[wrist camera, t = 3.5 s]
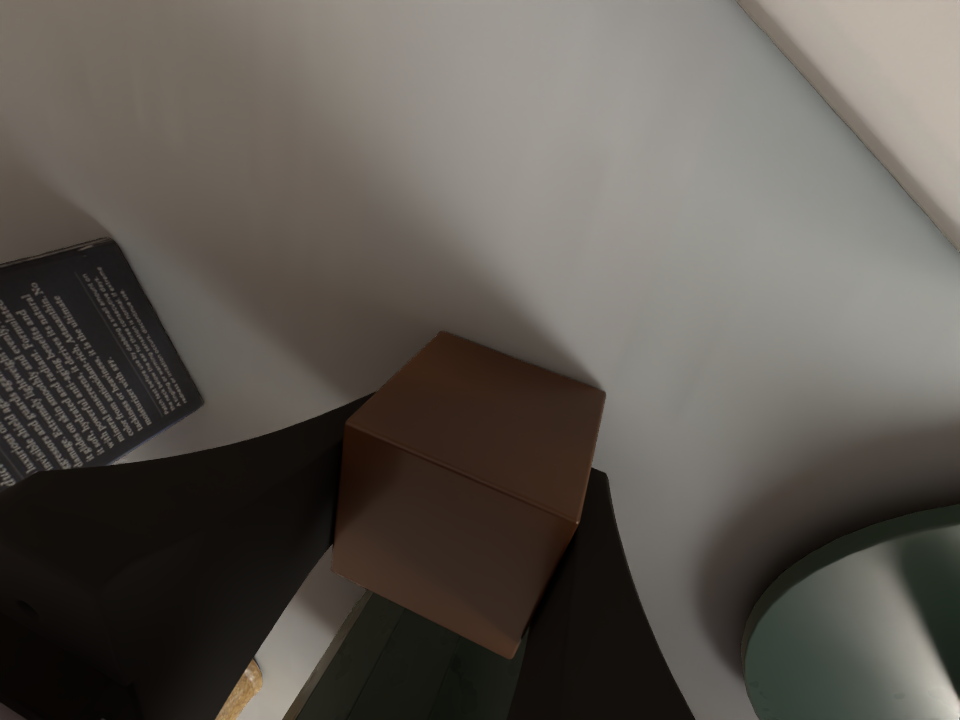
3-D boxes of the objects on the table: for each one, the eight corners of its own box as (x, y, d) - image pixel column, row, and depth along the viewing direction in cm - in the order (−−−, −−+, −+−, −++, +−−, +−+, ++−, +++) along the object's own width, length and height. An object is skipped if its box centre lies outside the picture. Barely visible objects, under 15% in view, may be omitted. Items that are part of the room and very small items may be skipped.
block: (607, 391, 11) (580, 523, 8) (553, 514, 14) (511, 663, 10) (441, 329, 12) (342, 420, 8) (415, 455, 14) (328, 571, 11)
